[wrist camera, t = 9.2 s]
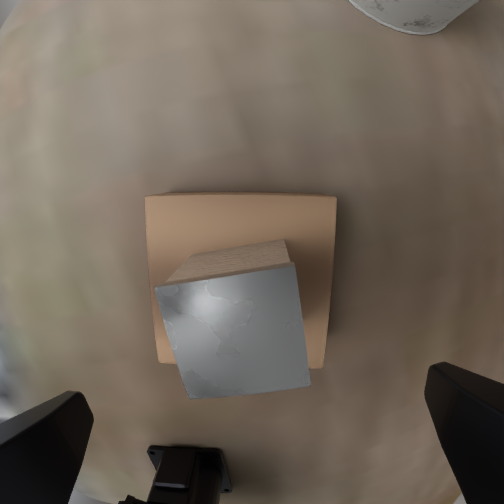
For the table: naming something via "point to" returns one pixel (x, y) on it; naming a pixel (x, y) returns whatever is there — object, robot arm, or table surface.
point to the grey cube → (236, 321)
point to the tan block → (245, 233)
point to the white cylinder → (413, 13)
